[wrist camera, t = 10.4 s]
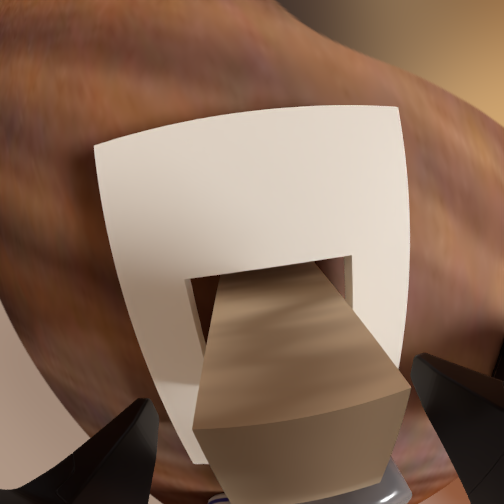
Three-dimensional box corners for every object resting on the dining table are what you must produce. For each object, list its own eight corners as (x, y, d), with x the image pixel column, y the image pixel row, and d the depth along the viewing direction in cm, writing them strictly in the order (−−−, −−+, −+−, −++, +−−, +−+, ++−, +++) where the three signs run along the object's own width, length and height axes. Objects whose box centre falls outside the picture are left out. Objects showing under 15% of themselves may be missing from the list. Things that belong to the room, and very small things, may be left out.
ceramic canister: (396, 423, 19) (432, 479, 12) (355, 476, 20) (376, 527, 14) (307, 429, 17) (332, 506, 11) (275, 483, 19) (287, 544, 13)
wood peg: (309, 256, 14) (411, 387, 5) (315, 332, 16) (379, 482, 6) (221, 270, 14) (192, 429, 5) (236, 345, 16) (234, 509, 6)
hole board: (364, 120, 13) (397, 106, 9) (366, 400, 17) (383, 434, 14) (126, 151, 13) (93, 145, 9) (198, 426, 17) (193, 463, 14)
